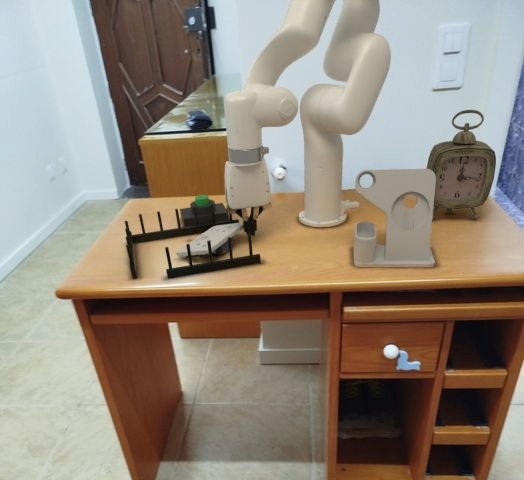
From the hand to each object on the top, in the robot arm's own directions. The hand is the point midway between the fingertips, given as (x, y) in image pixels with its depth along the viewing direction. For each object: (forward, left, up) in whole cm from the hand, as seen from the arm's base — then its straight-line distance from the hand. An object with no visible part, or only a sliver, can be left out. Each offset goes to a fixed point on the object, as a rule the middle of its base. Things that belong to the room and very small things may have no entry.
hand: (250, 234), depth 116 cm
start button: (+9, -19, +2) cm, 21 cm away
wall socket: (+10, 0, -3) cm, 10 cm away
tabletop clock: (-52, +3, -3) cm, 53 cm away
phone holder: (-28, +19, -3) cm, 34 cm away
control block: (+9, -19, -2) cm, 21 cm away
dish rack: (+15, 0, -2) cm, 15 cm away
